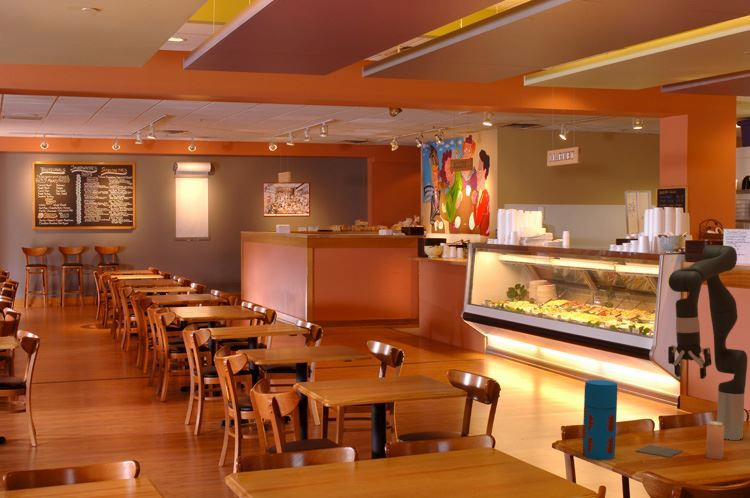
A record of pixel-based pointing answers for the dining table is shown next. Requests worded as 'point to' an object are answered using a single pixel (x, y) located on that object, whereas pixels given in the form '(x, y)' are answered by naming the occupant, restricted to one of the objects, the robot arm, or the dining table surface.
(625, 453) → the dining table surface
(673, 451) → the charcoal mat
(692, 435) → the dining table surface
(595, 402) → the thermos
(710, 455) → the terracotta shaker
